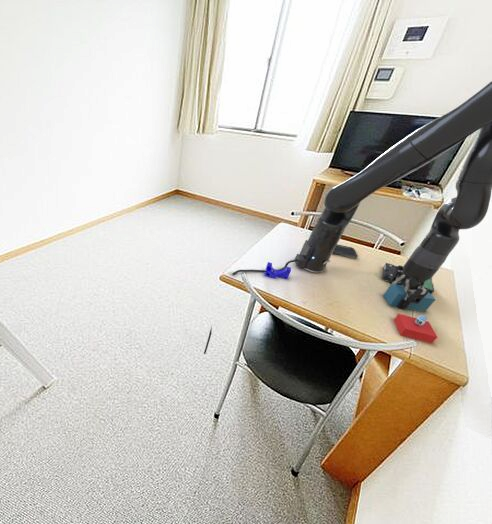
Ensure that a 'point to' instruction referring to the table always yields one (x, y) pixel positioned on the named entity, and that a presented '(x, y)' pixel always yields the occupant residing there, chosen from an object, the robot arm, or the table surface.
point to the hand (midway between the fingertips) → (395, 301)
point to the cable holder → (276, 272)
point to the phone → (345, 251)
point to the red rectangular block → (415, 328)
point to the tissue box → (397, 294)
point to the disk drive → (389, 271)
